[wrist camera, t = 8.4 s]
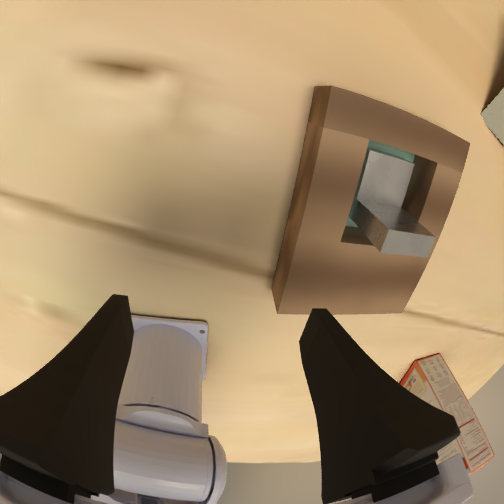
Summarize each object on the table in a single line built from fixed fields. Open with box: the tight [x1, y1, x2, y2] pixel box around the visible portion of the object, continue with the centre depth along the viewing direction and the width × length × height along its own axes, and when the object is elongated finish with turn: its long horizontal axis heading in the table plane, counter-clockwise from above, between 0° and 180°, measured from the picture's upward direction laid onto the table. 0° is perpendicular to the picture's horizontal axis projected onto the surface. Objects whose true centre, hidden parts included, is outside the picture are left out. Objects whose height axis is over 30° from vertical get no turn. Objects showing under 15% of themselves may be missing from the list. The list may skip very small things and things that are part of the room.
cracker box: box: [400, 353, 494, 475], centre depth 29 cm, size 14×6×21 cm, turn 179°
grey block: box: [349, 148, 436, 257], centre depth 17 cm, size 5×4×6 cm
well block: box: [272, 86, 470, 315], centre depth 19 cm, size 16×12×3 cm
